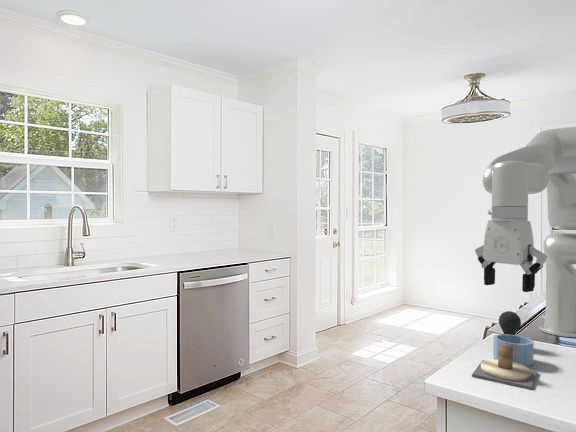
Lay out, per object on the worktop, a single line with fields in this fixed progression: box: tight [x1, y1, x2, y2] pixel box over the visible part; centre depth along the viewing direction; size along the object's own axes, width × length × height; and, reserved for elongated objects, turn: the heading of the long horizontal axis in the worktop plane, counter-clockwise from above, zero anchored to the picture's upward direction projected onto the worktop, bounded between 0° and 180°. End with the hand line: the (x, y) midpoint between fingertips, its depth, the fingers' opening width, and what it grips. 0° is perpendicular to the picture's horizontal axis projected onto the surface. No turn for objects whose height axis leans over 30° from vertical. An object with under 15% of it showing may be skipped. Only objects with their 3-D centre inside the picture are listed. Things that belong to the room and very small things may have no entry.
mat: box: [471, 359, 538, 391], centre depth 100 cm, size 12×12×1 cm
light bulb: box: [498, 310, 522, 335], centre depth 122 cm, size 6×6×10 cm
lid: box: [480, 344, 531, 381], centre depth 100 cm, size 10×10×6 cm
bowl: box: [492, 333, 535, 368], centre depth 110 cm, size 9×9×6 cm
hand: (507, 287), depth 101 cm, fingers open, 9 cm apart
